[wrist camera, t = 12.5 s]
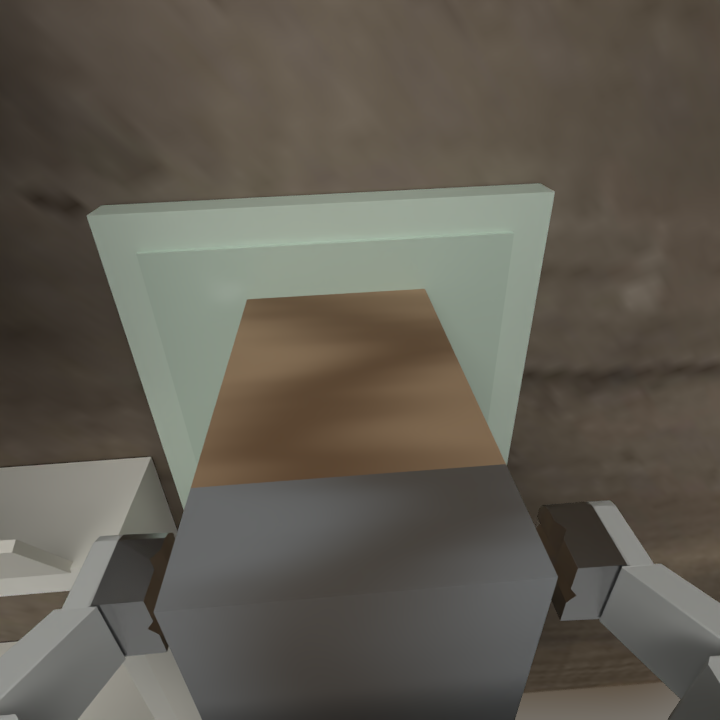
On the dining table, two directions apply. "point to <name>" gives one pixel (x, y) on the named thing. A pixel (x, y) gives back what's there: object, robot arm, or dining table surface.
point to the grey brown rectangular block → (352, 528)
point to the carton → (69, 550)
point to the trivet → (320, 284)
